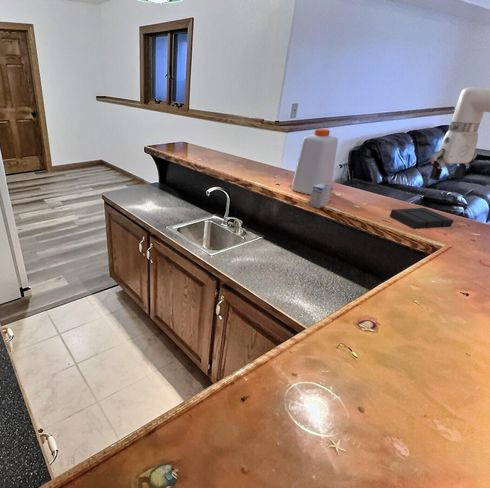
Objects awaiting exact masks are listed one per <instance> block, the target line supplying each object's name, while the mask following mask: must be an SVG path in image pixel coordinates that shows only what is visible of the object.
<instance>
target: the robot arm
mask: <svg viewBox="0 0 490 488" xmlns="http://www.w3.org/2000/svg"><path fill="white" fill-rule="evenodd" d="M485 113H490V87H486V86H467V87H464V88H463V89H462V90H461V92H460V94H459V96H458V100H457V103H456V106H455V109H454V112H453V114H452V118H451V121H450V124H449V125H448V130H447V132H446V133H445V135H444V137H443V139H442V141H441V144H440V146H439V148H438V151H436V152H434V153H432V154H431V155H430V164H431V168H432V170H431V172H430V175H429V179H430V180H433V181H439V180H440V178H441V175H442V172H443V167H444V166H445V165H446V164H448V165H453V164H454V165H455V164H456V165H457V164H458V165H457V166H456V168H455V170H454V174H453V178H456V179H459V180H463V179H464V177H465V175H466V172H467V169H468V168H469V167H470V165H471V164H472V163H473V162H474V160H475V159H476V157H477V156H478V153H477V152H476V149H477V144H478V138H479V132H478V130H479V127H480V125H481V122H482V119H483V116H484V114H485Z"/></svg>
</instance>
